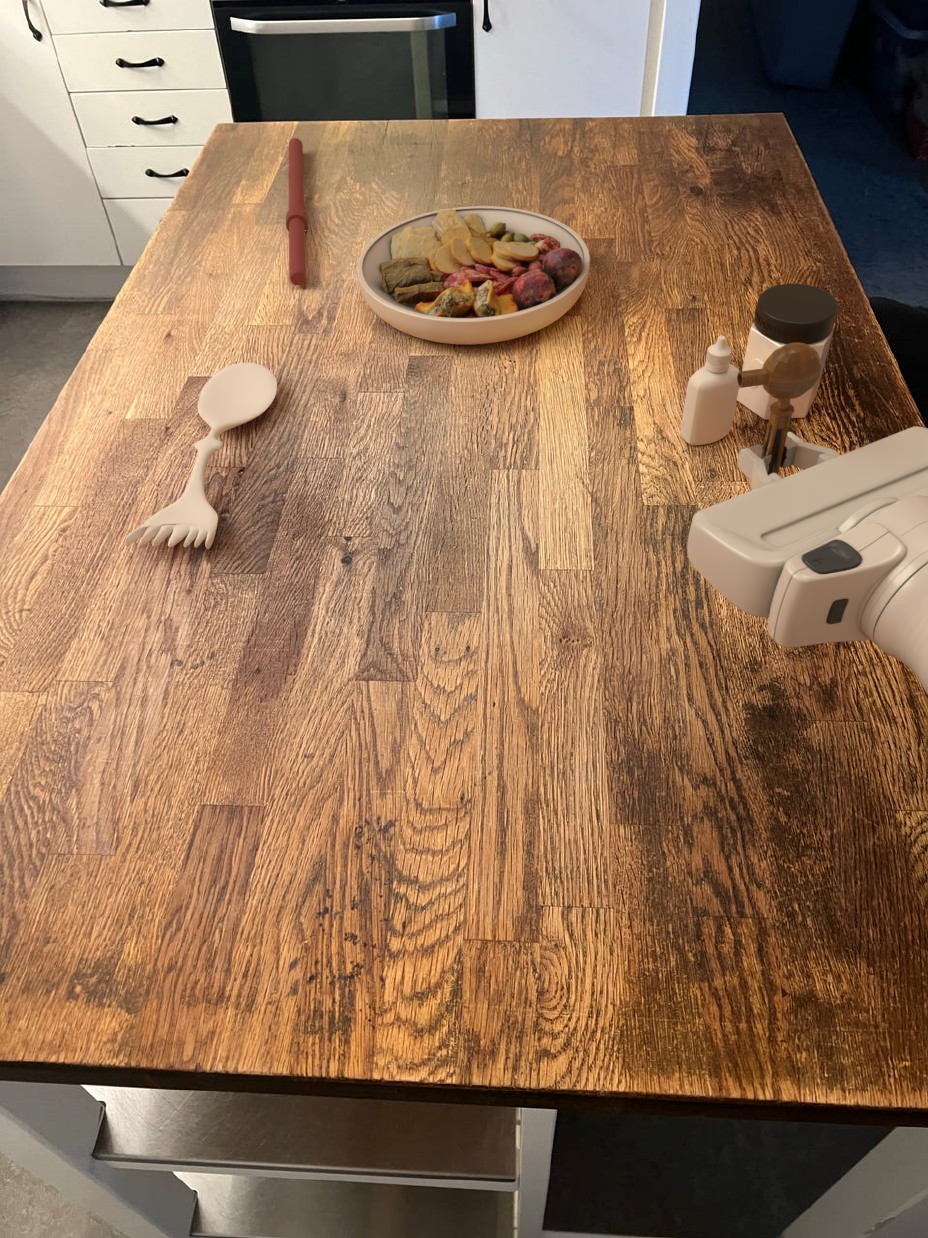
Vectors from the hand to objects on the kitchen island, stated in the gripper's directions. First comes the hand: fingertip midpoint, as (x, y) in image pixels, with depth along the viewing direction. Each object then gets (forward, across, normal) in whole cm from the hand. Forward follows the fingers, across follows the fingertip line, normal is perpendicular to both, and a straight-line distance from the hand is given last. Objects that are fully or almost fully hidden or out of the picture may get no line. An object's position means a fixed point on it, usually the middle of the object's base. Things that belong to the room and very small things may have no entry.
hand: (761, 447), depth 69 cm
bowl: (+65, -8, +22) cm, 69 cm away
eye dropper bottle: (+25, -16, +22) cm, 37 cm away
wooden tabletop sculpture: (-1, 0, +11) cm, 11 cm away
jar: (+27, -27, +22) cm, 44 cm away
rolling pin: (+99, +5, +22) cm, 102 cm away
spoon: (+47, +33, +22) cm, 61 cm away
